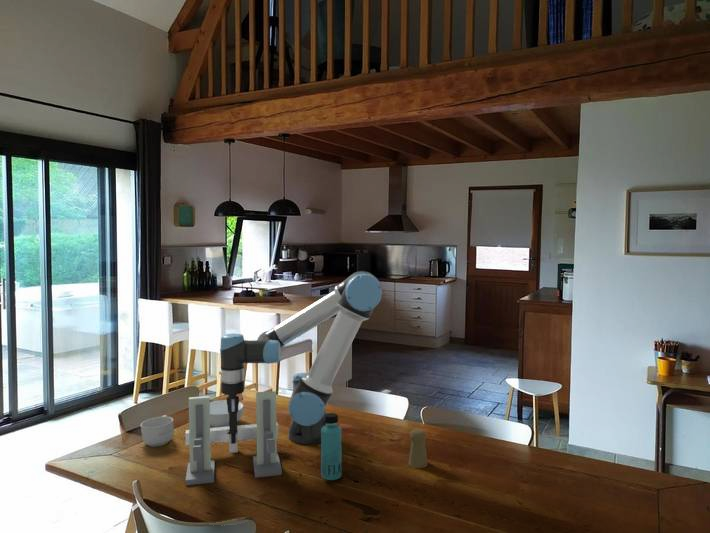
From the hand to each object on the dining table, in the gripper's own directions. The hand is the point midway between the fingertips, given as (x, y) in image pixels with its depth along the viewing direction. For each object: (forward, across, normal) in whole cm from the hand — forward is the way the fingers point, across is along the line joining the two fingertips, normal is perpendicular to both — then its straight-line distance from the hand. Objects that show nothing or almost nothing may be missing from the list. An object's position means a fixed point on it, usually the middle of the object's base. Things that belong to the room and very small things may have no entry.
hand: (233, 449), depth 175 cm
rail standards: (+1, +19, 0) cm, 20 cm away
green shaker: (+1, +23, +57) cm, 61 cm away
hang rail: (-3, 0, 0) cm, 3 cm away
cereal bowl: (+1, -28, -4) cm, 28 cm away
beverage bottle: (+1, +27, +28) cm, 39 cm away
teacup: (+1, -16, -25) cm, 30 cm away
